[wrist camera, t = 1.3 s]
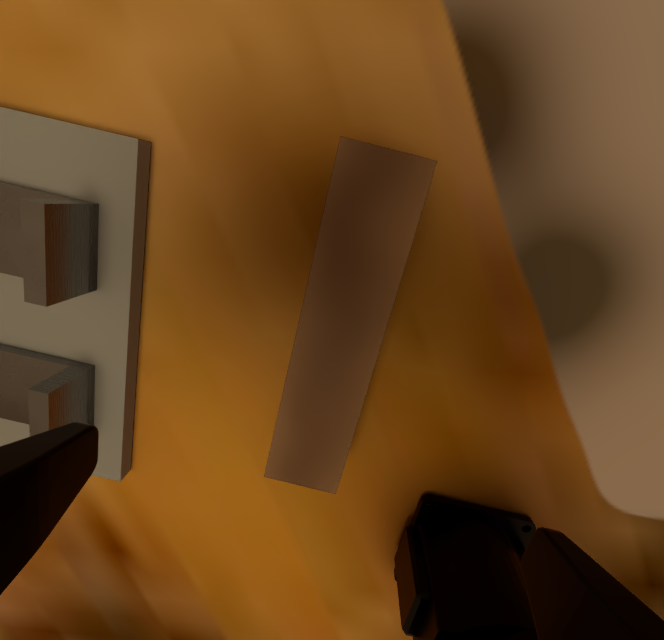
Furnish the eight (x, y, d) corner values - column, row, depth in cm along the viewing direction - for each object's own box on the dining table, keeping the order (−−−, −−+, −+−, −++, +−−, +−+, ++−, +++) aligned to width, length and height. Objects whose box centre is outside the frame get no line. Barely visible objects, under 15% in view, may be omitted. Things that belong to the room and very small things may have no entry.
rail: (420, 169, 16) (437, 160, 13) (339, 447, 21) (335, 494, 18) (343, 150, 16) (340, 136, 13) (278, 433, 21) (263, 476, 18)
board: (150, 142, 16) (138, 138, 15) (130, 469, 22) (120, 481, 21) (-115, 80, 16) (-145, 72, 15) (-68, 423, 22) (-88, 433, 21)
